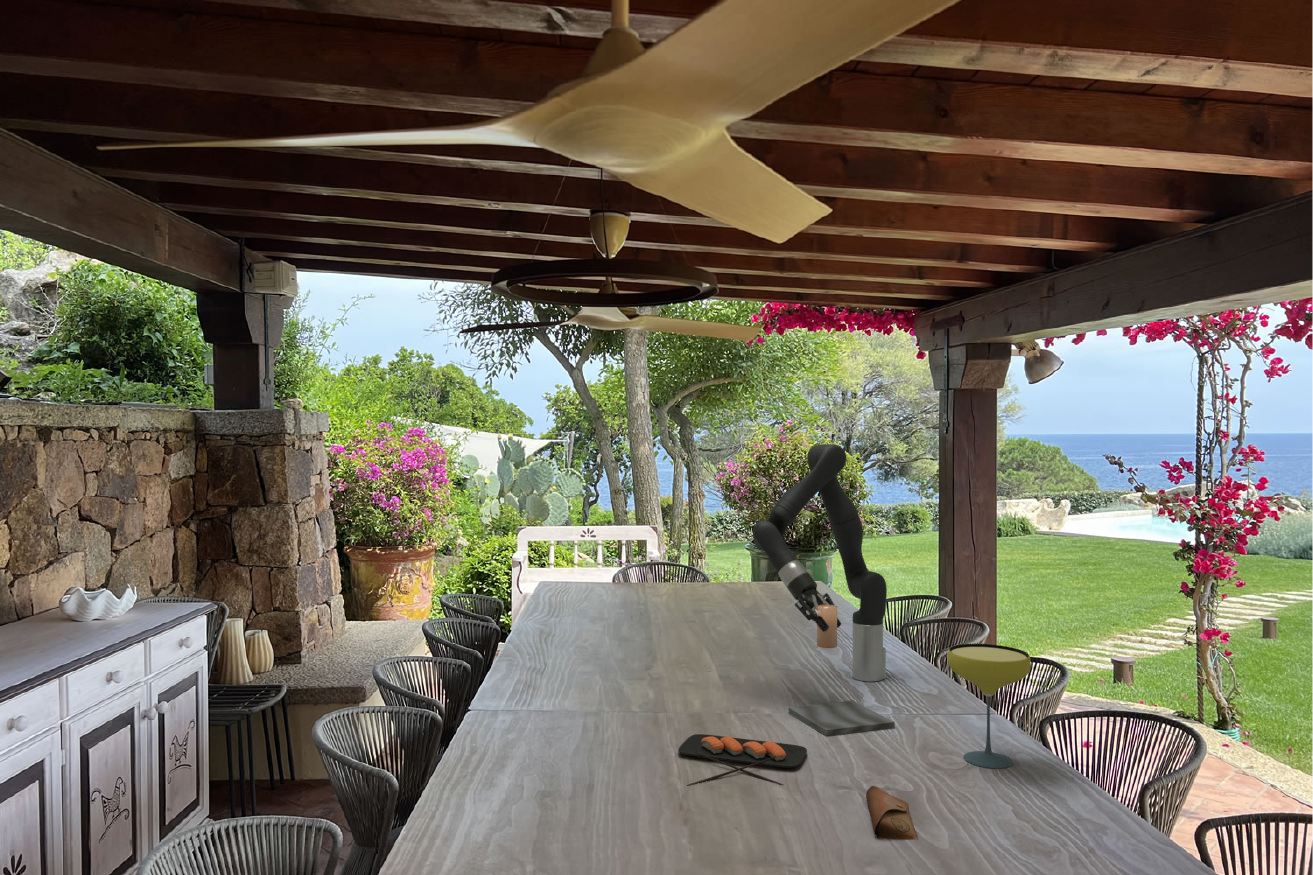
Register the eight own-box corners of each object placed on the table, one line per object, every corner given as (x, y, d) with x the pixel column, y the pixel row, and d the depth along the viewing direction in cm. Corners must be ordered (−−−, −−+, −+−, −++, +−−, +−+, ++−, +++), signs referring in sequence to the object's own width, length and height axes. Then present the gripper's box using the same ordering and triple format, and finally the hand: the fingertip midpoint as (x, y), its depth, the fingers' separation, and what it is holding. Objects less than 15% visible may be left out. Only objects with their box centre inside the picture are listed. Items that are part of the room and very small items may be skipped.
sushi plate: (809, 754, 213) (809, 738, 213) (784, 802, 184) (784, 784, 184) (692, 740, 222) (692, 724, 222) (651, 784, 194) (651, 766, 194)
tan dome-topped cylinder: (830, 642, 252) (830, 603, 252) (840, 647, 247) (840, 607, 247) (813, 644, 251) (813, 605, 251) (823, 648, 245) (823, 608, 245)
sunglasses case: (921, 840, 165) (902, 808, 166) (888, 857, 166) (869, 825, 167) (907, 801, 183) (890, 772, 184) (877, 817, 184) (860, 788, 185)
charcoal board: (852, 705, 249) (852, 700, 249) (894, 727, 230) (894, 721, 230) (788, 712, 243) (788, 707, 243) (826, 736, 224) (826, 730, 224)
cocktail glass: (1022, 780, 195) (1022, 665, 195) (938, 764, 204) (938, 654, 204) (1036, 755, 210) (1037, 649, 210) (957, 741, 220) (957, 639, 220)
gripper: (789, 574, 249) (826, 623, 241) (819, 569, 259) (855, 616, 251) (774, 590, 253) (809, 640, 244) (804, 585, 263) (839, 632, 254)
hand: (832, 627), depth 248 cm, fingers closed on tan dome-topped cylinder, 5 cm apart
